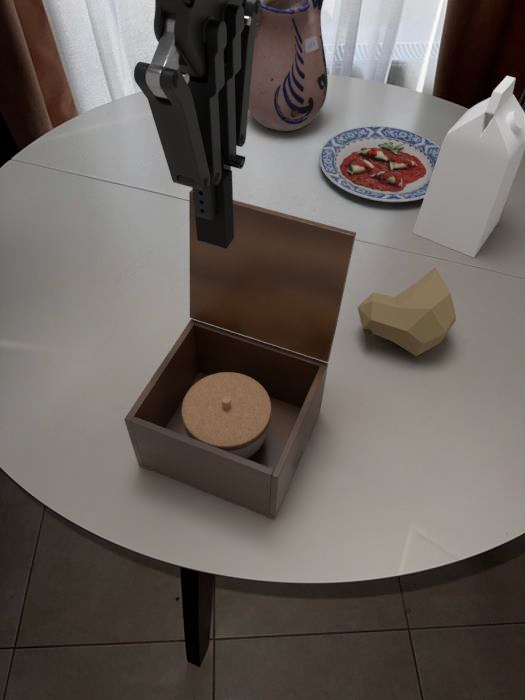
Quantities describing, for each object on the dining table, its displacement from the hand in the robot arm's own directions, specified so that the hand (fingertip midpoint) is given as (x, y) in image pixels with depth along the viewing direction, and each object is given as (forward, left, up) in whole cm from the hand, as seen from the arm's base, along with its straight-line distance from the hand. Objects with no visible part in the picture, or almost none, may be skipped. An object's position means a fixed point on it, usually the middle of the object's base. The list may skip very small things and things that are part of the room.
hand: (215, 238), depth 49 cm
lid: (0, +11, -14) cm, 18 cm away
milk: (+19, +57, -35) cm, 69 cm away
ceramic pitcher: (-24, +77, -35) cm, 88 cm away
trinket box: (0, 0, -34) cm, 34 cm away
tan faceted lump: (+16, +27, -35) cm, 47 cm away
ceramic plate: (+2, +69, -35) cm, 77 cm away
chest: (0, +1, -34) cm, 34 cm away
